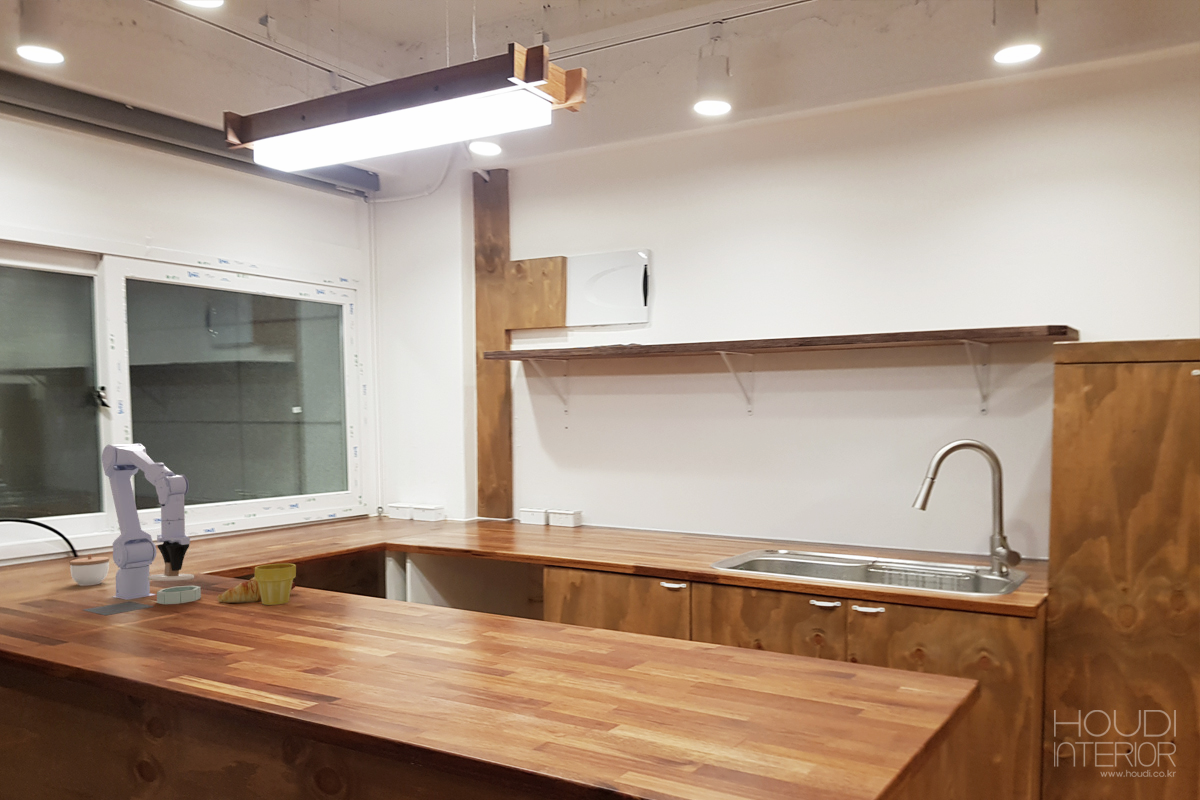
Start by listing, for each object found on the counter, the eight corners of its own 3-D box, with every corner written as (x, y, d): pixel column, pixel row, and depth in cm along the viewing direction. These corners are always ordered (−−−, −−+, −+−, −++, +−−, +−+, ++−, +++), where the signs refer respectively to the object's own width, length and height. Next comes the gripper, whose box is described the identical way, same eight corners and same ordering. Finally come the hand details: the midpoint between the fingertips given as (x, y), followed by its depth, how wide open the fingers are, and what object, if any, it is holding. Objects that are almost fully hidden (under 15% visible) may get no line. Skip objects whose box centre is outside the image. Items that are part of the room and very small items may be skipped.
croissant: (222, 619, 224) (226, 594, 222) (209, 597, 231) (213, 573, 228) (299, 604, 239) (304, 580, 236) (285, 584, 245) (290, 561, 243)
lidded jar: (117, 580, 273) (116, 551, 274) (94, 586, 263) (93, 556, 263) (86, 581, 274) (85, 551, 275) (61, 587, 264) (61, 557, 264)
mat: (82, 612, 223) (82, 609, 223) (130, 603, 232) (129, 601, 232) (105, 617, 214) (105, 615, 214) (154, 608, 224) (154, 606, 224)
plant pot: (301, 598, 232) (301, 562, 232) (289, 605, 222) (288, 568, 222) (263, 599, 232) (262, 563, 232) (249, 607, 221) (248, 569, 222)
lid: (140, 578, 230) (141, 562, 230) (181, 575, 239) (182, 560, 239) (159, 581, 223) (161, 565, 224) (201, 578, 232) (202, 562, 232)
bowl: (151, 603, 231) (151, 590, 231) (188, 597, 239) (187, 584, 239) (169, 607, 225) (169, 594, 225) (206, 600, 233) (206, 587, 233)
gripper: (145, 520, 233) (146, 570, 233) (170, 522, 224) (171, 574, 224) (171, 517, 239) (172, 566, 238) (197, 519, 230) (198, 570, 229)
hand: (173, 569), depth 232 cm, fingers closed on lid, 3 cm apart
